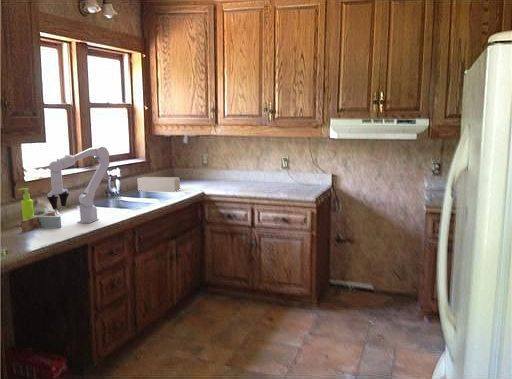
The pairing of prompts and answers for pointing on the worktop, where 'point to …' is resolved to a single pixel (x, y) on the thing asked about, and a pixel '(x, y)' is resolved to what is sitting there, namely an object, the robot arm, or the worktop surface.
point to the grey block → (50, 221)
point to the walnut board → (33, 222)
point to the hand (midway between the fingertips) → (59, 207)
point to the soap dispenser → (27, 205)
